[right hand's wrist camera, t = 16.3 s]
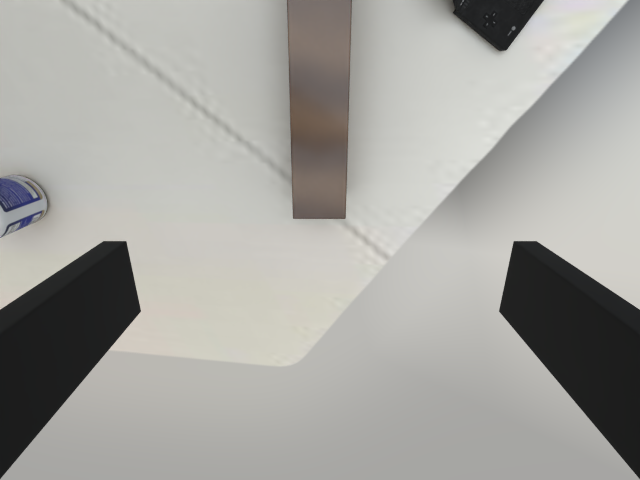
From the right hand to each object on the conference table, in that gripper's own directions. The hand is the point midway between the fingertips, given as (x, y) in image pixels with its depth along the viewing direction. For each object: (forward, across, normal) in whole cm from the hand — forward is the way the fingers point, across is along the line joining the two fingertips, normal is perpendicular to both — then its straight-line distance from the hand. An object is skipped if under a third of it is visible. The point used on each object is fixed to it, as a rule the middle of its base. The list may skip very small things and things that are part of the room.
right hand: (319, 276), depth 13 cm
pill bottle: (+27, +32, +4) cm, 42 cm away
